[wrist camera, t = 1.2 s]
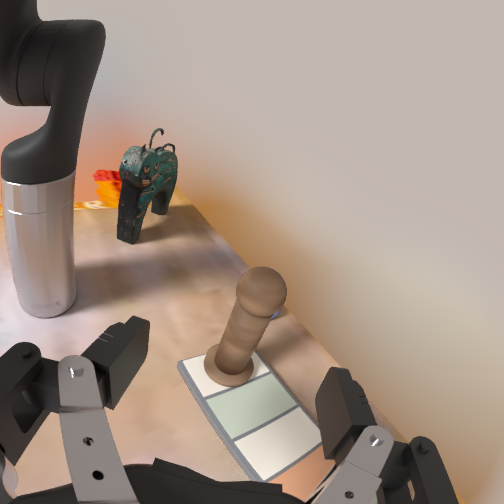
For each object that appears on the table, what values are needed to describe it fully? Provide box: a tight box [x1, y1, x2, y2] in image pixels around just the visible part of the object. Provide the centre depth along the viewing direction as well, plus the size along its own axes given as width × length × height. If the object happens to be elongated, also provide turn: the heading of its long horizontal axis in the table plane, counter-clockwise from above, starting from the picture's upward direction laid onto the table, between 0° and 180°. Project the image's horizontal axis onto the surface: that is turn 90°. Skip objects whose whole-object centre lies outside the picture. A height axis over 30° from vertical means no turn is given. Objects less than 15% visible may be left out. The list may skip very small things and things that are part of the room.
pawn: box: [204, 267, 287, 387], centre depth 26 cm, size 6×6×14 cm
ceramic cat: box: [117, 128, 178, 244], centre depth 48 cm, size 20×6×20 cm, turn 171°
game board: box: [177, 350, 378, 504], centre depth 23 cm, size 27×10×1 cm, turn 35°
